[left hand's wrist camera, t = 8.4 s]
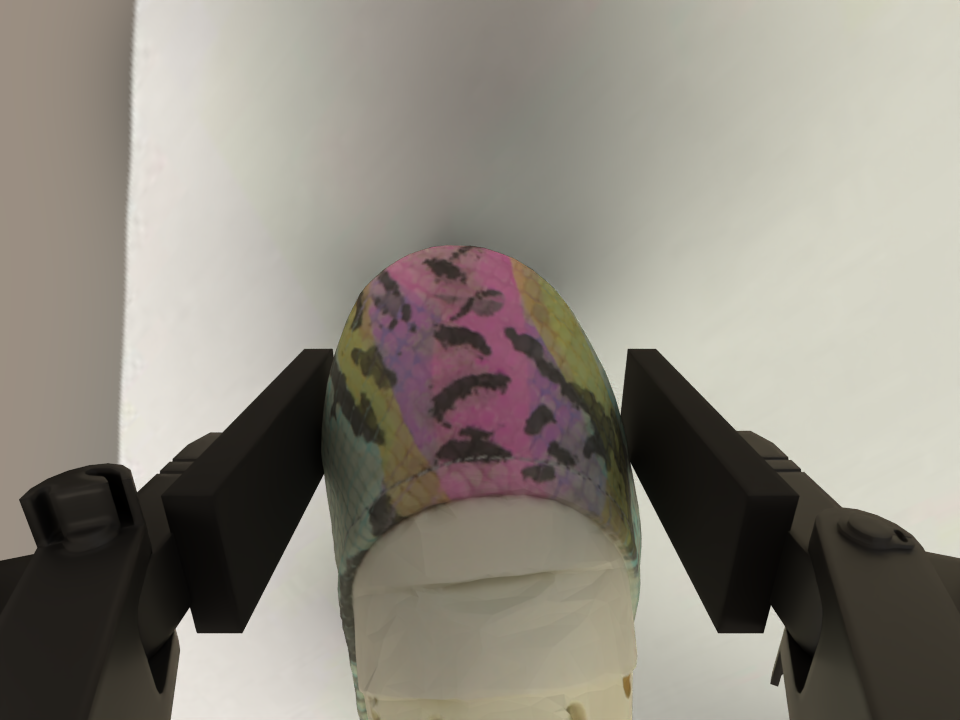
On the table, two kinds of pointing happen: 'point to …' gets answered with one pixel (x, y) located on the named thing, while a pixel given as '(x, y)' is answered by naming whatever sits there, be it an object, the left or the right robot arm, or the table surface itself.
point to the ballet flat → (479, 499)
